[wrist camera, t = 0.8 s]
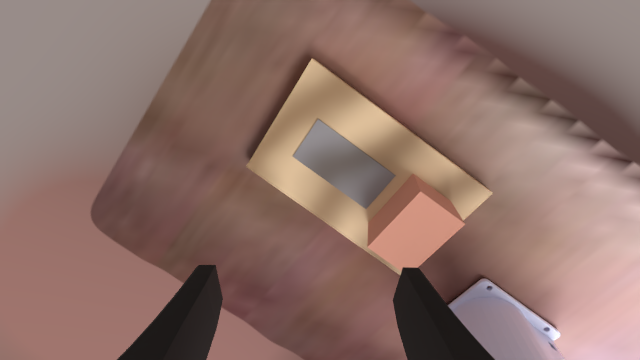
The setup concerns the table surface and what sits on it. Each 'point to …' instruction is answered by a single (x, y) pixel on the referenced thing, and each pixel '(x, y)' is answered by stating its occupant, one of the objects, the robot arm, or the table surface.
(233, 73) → the table surface
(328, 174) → the board
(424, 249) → the block
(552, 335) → the robot arm
